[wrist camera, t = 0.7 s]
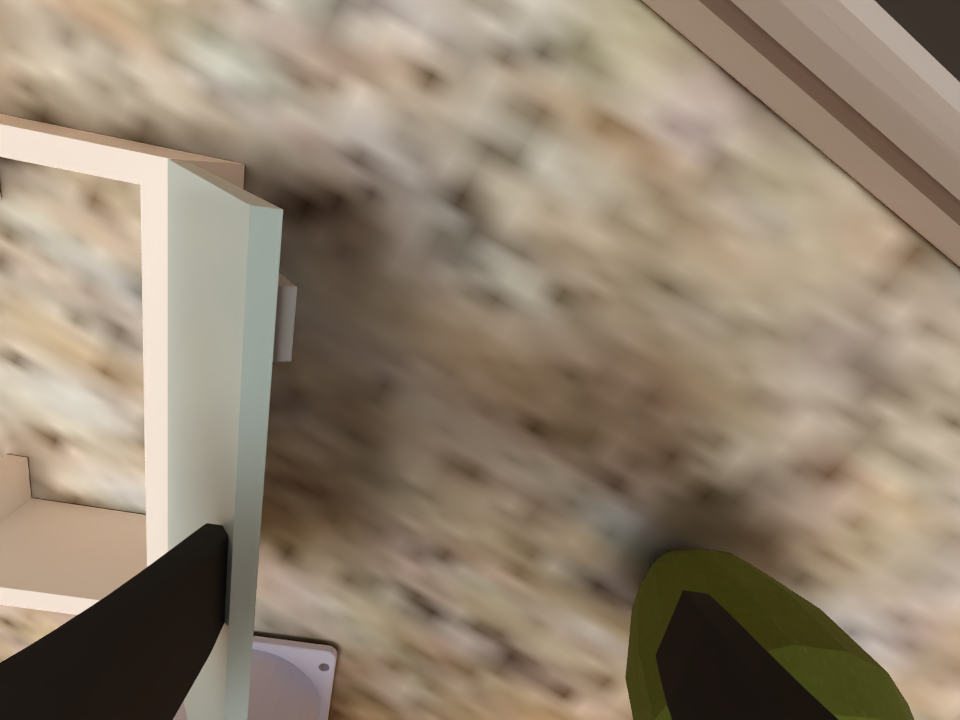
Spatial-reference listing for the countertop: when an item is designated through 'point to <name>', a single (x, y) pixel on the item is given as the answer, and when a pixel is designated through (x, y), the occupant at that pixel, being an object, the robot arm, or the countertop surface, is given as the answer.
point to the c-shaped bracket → (122, 535)
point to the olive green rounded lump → (756, 637)
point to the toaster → (853, 89)
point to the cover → (222, 396)
